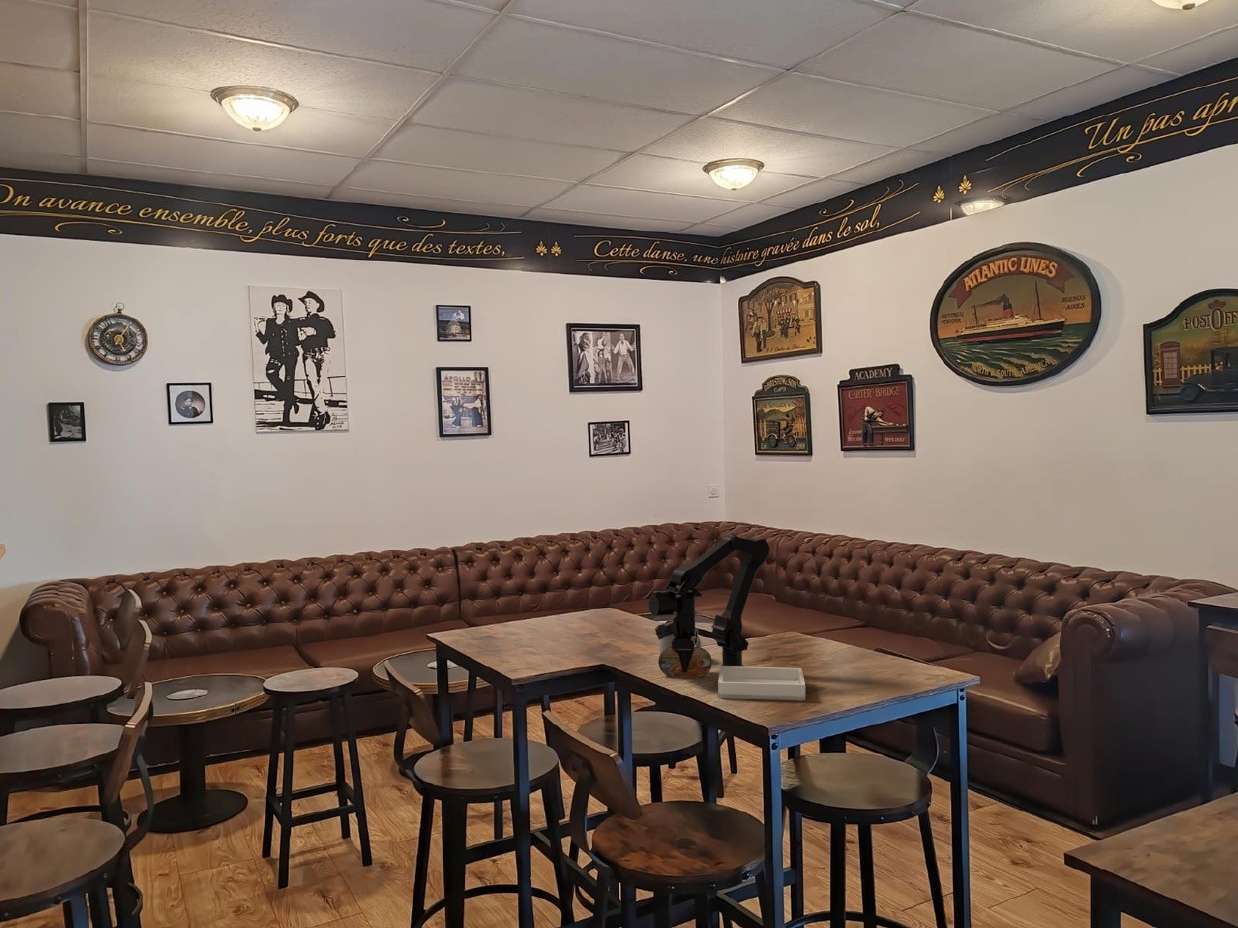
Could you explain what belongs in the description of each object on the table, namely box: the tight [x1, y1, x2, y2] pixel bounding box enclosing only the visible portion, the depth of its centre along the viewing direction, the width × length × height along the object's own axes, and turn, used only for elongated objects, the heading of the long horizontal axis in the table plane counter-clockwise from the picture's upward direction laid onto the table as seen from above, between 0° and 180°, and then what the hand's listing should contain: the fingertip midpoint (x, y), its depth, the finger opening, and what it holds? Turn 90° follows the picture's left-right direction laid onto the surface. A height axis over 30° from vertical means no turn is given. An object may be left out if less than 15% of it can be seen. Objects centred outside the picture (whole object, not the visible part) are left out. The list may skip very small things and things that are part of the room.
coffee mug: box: [659, 634, 702, 655], centre depth 276 cm, size 13×10×10 cm
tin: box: [658, 646, 713, 678], centre depth 255 cm, size 15×3×8 cm, turn 80°
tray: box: [717, 665, 806, 701], centre depth 240 cm, size 18×22×4 cm
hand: (685, 667), depth 255 cm, fingers open, 9 cm apart
